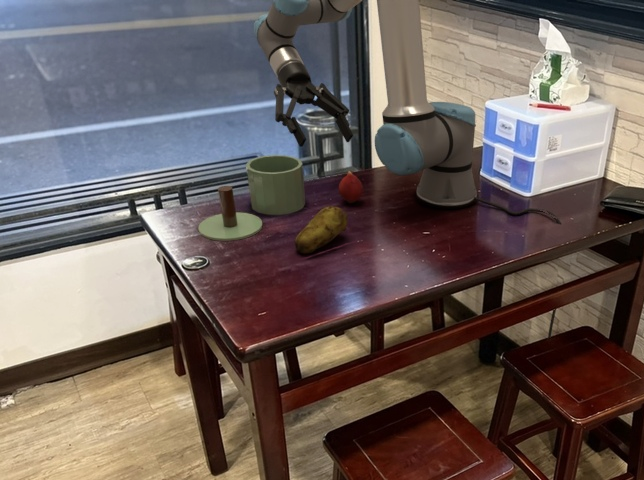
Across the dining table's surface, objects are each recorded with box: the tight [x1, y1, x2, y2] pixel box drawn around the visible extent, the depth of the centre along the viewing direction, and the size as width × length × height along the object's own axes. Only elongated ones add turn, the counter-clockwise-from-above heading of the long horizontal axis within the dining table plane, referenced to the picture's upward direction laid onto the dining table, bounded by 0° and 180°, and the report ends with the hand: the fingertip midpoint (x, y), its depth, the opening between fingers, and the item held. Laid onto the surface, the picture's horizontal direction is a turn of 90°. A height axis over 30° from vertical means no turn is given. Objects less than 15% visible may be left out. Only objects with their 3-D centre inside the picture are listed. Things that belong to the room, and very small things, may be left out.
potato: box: [294, 205, 349, 254], centre depth 129 cm, size 8×13×8 cm, turn 123°
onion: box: [338, 170, 364, 204], centre depth 149 cm, size 6×6×8 cm
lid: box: [197, 185, 263, 242], centre depth 134 cm, size 14×14×10 cm
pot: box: [245, 154, 306, 216], centre depth 145 cm, size 13×13×10 cm
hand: (327, 140), depth 149 cm, fingers open, 13 cm apart
